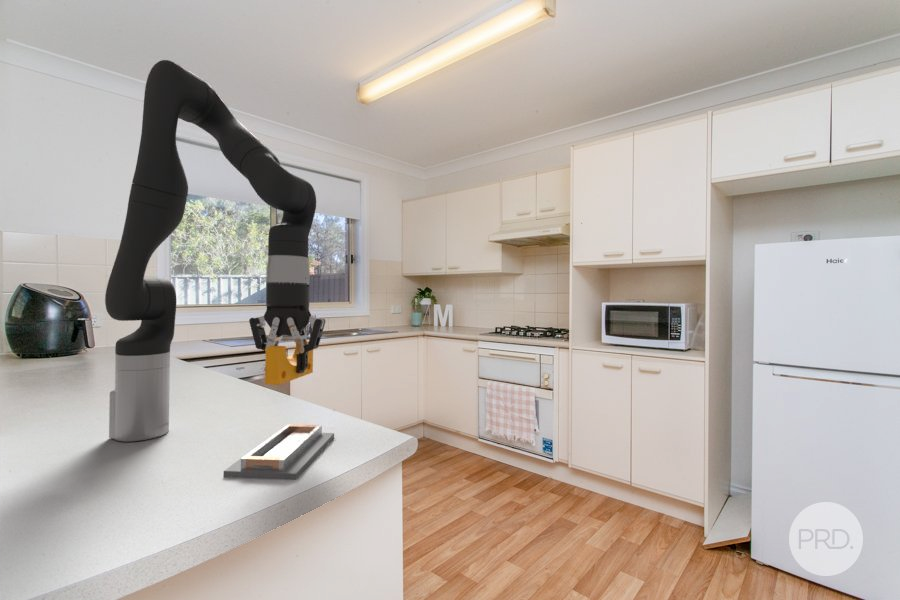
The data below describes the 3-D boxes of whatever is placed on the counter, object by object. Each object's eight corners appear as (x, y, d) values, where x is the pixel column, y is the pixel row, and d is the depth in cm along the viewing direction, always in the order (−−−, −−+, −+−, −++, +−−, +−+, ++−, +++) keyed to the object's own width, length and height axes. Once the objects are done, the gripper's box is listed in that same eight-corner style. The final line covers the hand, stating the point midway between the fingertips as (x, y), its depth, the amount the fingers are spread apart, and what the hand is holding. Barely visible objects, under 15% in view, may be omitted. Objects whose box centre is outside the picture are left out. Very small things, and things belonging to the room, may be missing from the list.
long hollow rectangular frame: (240, 469, 68) (240, 458, 68) (287, 432, 87) (287, 424, 87) (283, 470, 68) (283, 460, 68) (321, 433, 86) (321, 425, 86)
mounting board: (223, 477, 68) (223, 470, 68) (278, 435, 88) (278, 431, 88) (295, 479, 67) (295, 473, 67) (334, 437, 87) (334, 433, 87)
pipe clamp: (292, 371, 83) (293, 339, 83) (312, 372, 83) (313, 340, 83) (255, 383, 71) (256, 346, 71) (278, 385, 71) (279, 347, 71)
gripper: (239, 280, 73) (238, 375, 74) (318, 281, 73) (317, 377, 73) (260, 281, 81) (259, 368, 81) (332, 282, 81) (331, 369, 81)
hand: (287, 372), depth 77 cm, fingers closed on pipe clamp, 4 cm apart
